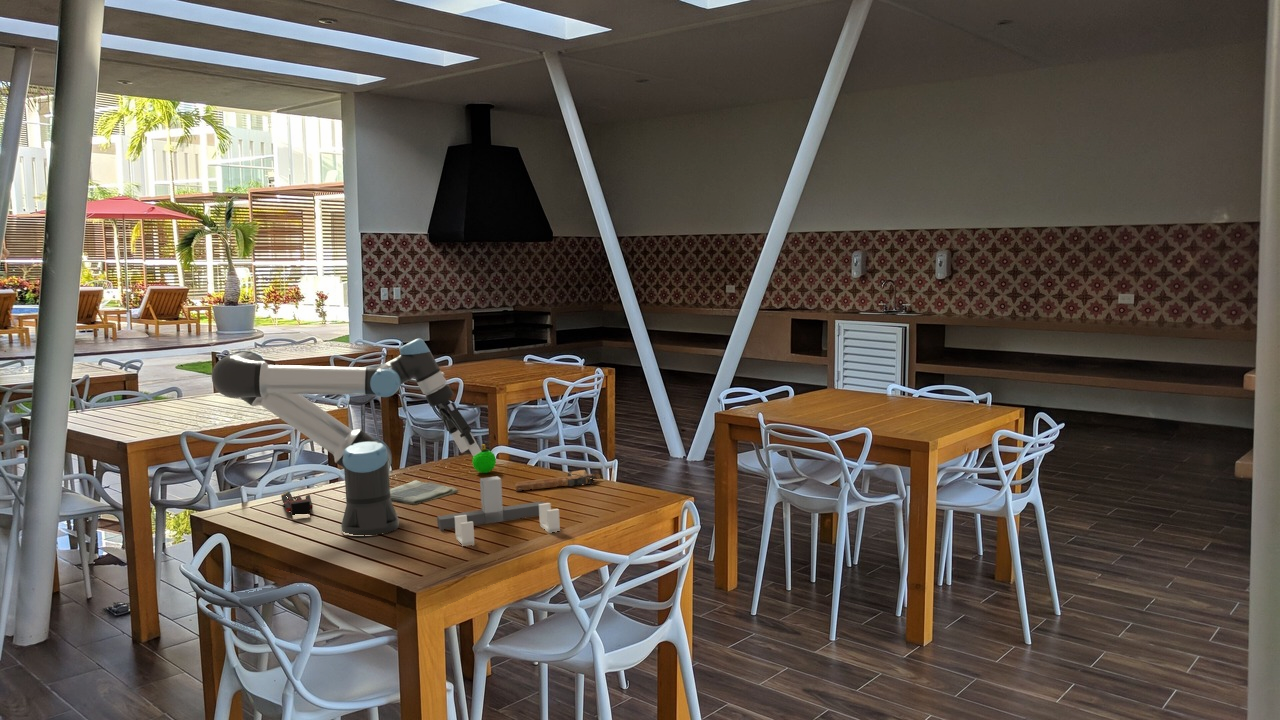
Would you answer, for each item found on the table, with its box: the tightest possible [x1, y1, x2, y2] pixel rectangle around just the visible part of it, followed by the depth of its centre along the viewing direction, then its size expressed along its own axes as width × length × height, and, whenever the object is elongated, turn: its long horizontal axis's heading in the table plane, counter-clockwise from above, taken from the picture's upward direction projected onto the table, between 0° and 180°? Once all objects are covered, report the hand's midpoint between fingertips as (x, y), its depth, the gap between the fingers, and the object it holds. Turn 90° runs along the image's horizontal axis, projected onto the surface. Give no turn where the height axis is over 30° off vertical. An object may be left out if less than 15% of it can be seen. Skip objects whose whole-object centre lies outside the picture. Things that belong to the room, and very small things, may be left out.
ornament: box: [472, 443, 497, 474], centre depth 321 cm, size 8×8×10 cm
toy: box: [281, 491, 314, 515], centre depth 284 cm, size 8×5×30 cm
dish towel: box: [390, 479, 459, 506], centre depth 294 cm, size 19×18×3 cm
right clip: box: [538, 502, 561, 534], centre depth 250 cm, size 3×8×6 cm, turn 23°
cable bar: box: [436, 475, 544, 531], centre depth 260 cm, size 30×4×12 cm, turn 113°
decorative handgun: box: [514, 469, 601, 492], centre depth 302 cm, size 3×28×15 cm
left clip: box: [454, 515, 475, 547], centre depth 241 cm, size 3×8×6 cm, turn 23°
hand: (471, 452), depth 273 cm, fingers open, 13 cm apart
